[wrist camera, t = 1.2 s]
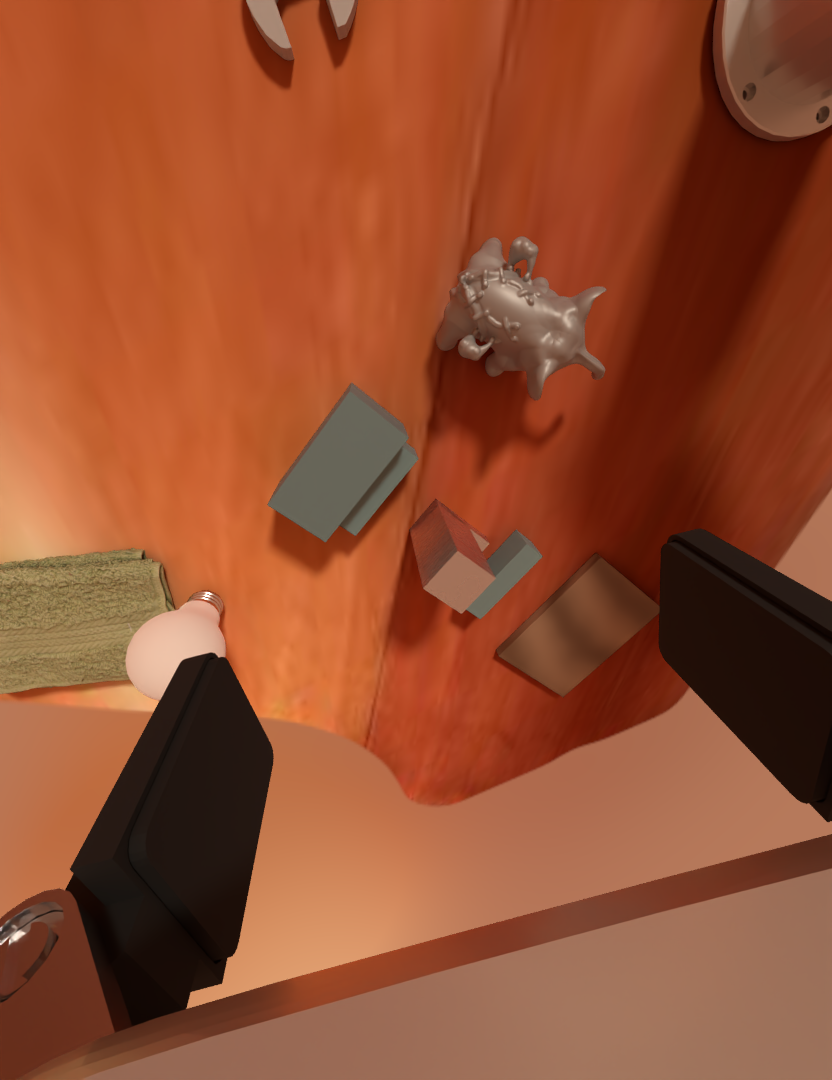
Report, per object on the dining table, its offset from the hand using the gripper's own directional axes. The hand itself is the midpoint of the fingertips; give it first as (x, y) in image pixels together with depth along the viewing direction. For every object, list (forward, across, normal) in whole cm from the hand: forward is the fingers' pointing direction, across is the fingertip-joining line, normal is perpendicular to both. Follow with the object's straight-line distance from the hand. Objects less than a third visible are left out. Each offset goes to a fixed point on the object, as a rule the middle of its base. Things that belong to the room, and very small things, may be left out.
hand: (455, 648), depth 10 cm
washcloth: (+30, +30, +11) cm, 44 cm away
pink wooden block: (+29, -3, +11) cm, 31 cm away
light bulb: (+29, +19, +12) cm, 37 cm away
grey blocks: (+29, -1, +8) cm, 30 cm away
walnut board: (+29, -14, +25) cm, 41 cm away
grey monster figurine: (+29, -11, -4) cm, 31 cm away
